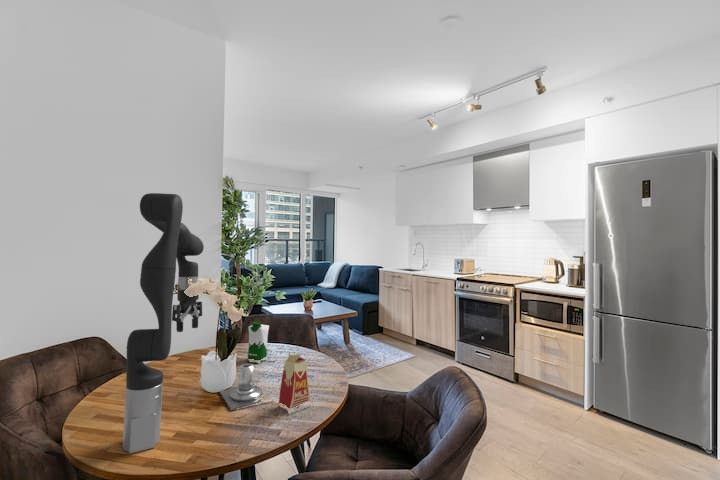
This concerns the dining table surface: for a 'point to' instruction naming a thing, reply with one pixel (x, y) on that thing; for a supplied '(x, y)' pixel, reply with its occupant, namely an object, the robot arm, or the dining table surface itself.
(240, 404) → the plate on grey tray
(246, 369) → the hub
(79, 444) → the dining table surface
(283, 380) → the milk carton
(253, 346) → the soya milk
